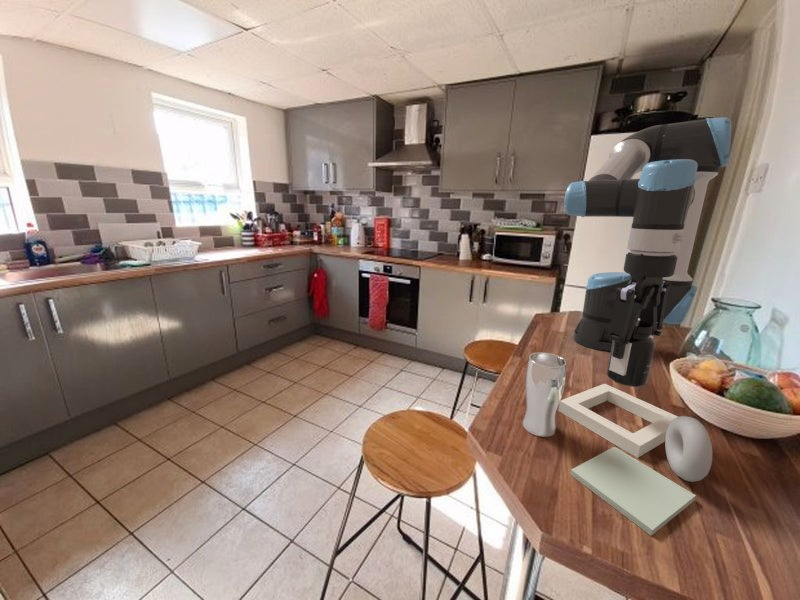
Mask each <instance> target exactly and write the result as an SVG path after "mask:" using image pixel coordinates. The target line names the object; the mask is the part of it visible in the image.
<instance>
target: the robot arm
mask: <svg viewBox="0 0 800 600" xmlns="http://www.w3.org/2000/svg"><path fill="white" fill-rule="evenodd" d="M731 138H732V121H731V119H730V118H729V117H726V116H725V117H712V118H710V117H705V118H702V119H701V118H700V119H693V120H687V121H681V122H674V123H665V124H658V125H653V126H652V125H651V126H650V127H649V126H648V127H646V128H644V129H641V130H639V131H636V132H634V133H633V134H630V135H629V136H627V137H625V138H623V139H622V140H621V141H620V142H618V143H617V144H616V145H615V146H614V147H613V149H612V150H610V153H609V156H608V159H607V160H606V161H605V162H604V164H602V166H601V167H600V168H599V169H598V170H597V171H596V172H595V173H594V174H593V175H592V177H590V179H588V180H580V181H573V182H571V183H570V184H569V185H568V186H567V188H566V191H565V193H564V201H563V202H564V206H563V207H564V212H565V213H566V215H568V216H573V217H581V218H585V217H587V218H588V217H594V218H595V217H597V218H599V217H603V218H604V217H605V218H606V217H607V218H609V217H611V218H612V217H614V218H615V217H617V218H618V217H620V218H632V223H631V226H630V231H629V237H628V243H627V248H626V249H627V250H629V251H628V252H627V253H626V254H625V259H624V265H623V271H624V272H617V271H616V272H612V271H611V272H601V273H600V272H599V273H593V274H592V275H590V276H589V278H587V282H586V283H587V284H586V287H585V295H584V302H583V308H582V315H581V318H580V320H579V322H578V323H577V326H576V327H575V329H574V331H573V334H572V339H573V340H574V341H575V342H576V343H578V344H579V345H581V346H584V347H587V348H590V349H594V350H599V351H607V352H611V347H612V342H613V340H614V346H613V352H612V357H611V362H610V368H609V370H611V371H613V372H616V373H618V374H620V375H623V376H624V375H626V371H627V366H628V361H629V356H630V351H631V346H632V343H629V341H630V339H631V336H632V333H633V331H634V328H635V326H636V323H637V321H643V322H646V323H649V324H651V325H652V326H653V327H652V334H651V336H649V337H650V338H651V339H652V340H653V341H654V339H655V338H654V336H656V337H660V336H661V334H662V331H661V330H662V329H663V325H664V324H669V325H670V324H671V325H680V324H682V323H683V322H684V321H685V319H686V316H687V315H688V313H689V310H690V308H691V306H692V304H693V301H694V298H695V296H696V293H697V291H698V286H696V285H694V284H693V281H694V280H693V278H692V277H691V275H690V274H689V273H688V270H689V265H690V262H691V258H692V253H693V249H694V244H695V239H696V236H697V231H698V227H699V222H700V219H701V215H702V210H703V206H704V201H705V199H706V194H707V190H708V184H709V183H710V181H711V180H713V179H714V178H715V177H716V176H718V175H719V172H720V168H724V167H727V166H728V165H729V160H730V151H731V140H732V139H731ZM640 172H641V174H640V178H633V177H634V176H635V175H637V174H638V173H640Z"/></svg>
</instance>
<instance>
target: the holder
mask: <svg viewBox="0 0 800 600" xmlns="http://www.w3.org/2000/svg"><path fill="white" fill-rule="evenodd" d="M605 402H609V403H611V404H613V405H615V406H617V407H619V408H621V409H623V410H625V411H627V412H629V413H631V414H633V415H635V416H637V417H639V418H642V420H645V421H648V422H650V424H648V425H646V426H644V427H642V428H641V429H638V430H636V431H635V432H631V431H629V430H628V429H625V428H624V427H622V426H620V425H619V424H617V423H614V422H613V421H611V420H610V419H607V418H605V417H604V416H601V415H599V414H598V413H597V412H594V411H592V410H591V408H593V407H595V406H598V405H601V404H602V403H605ZM557 411H558V412H559V413H561V414H563V415H564V416H566V417H568V418H569V419H571V420H573V421H575V422H576V423H578V424H580V425H581V426H583V427H585V428H586V429H588V430H589V431H591V432H593V433H595V434H597V435H598V436H600V437H602V438H603V439H604V440H607V442H610V443H611V444H613V445H615V447H616V446H617V448H620V450H622V451H623V450H624V451H625V453H628V454H630V455H632V457H634V458H637V459H639V458H641V456H643V455H645V454H647V453H649V452H650V451H651V450H653V449H655V448H657V447H658V446H661V444H663V443H665V437H666V432H667V429H668V426H669V424H670V423H671V422H672V420H673V419H675V418H677V417H679V416H677V415H675V414H673V413H671V412H668V411H666V410H664V409H662V408H659V407H657V406H655V405H653V404H651V403H649V402H647V401H644V400H642V399H640V398H638V397H635V396H633V395H631V394H629V393H628V392H624V391H622V390H619V389H618V388H616V387H613V386H611V385H609V384H606V383H602V384H599V385H597V386H595V387H592V388H589V389H587V390H584V391H582V392H579V393H577V394H574V395H571V396H568V397H566V398H563V399H561V400H560V402H559V405H558V409H557Z"/></svg>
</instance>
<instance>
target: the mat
mask: <svg viewBox="0 0 800 600" xmlns="http://www.w3.org/2000/svg"><path fill="white" fill-rule="evenodd" d="M570 475H571V477H573V478H574V479H576V480H577V481H578V482H580V484H582V485H584V486H585V488H587V489H589V490H590V491H591V492H593V493H594V494H595V495H597V497H599V498H600V499H602V501H604V502H606V503H607V504H608V505H610V506H611V507H612V508H614V509H615V510H616V511H617V512H619V513H620V514H621V515H623V516H624V517H626V519H628V520H629V521H631V522H632V523H633V524H635V525H636V526H637V527H638V528H640V529H641V530H643V531H644V532H645V533H647V534H648V535H649V536H651V537H652V536H654V534H655V533H656V532H658V531H659V530H660V529H662V527H664V526H665V525H666V524H668V523H669V522H670V521H671V520H673V519H674V518H675V517H677V515H679V514H680V513H682V511H684V510H685V509H686V508H687V507H688V506H690V505H691V504H692V503H694V502H695V499H696V496H697V495H696V494H695V493H693V492H691V491H689V490H688V489H686V488H684V487H683V486H682V485H679V484H677V482H674V481H673V480H671V479H669V478H668V477H665V476H664V475H663V474H661V473H659V472H658V471H656V470H654V469H653V468H651V467H650V466H648V465H646V464H645V463H643V462H641V461H640V460H638V459H635V457H634V456H631V455H629V453H628V454H627V452H624V451H623V450H622V449H619V447H616V446H613V447H611V448H609V449H607V450H605V451H604V452H602V453H598V455H596V456H594V457H592V458H590V459H588V460H587V461H585V462H583V463H581V464H579V465H577V466H576V467H574V468H572V469H571V470H570Z"/></svg>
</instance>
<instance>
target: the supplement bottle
mask: <svg viewBox="0 0 800 600" xmlns="http://www.w3.org/2000/svg"><path fill="white" fill-rule="evenodd" d="M652 327H653V326H652V325H651V324H649V323H646V322H643V321H640V320H638V321H637V323H636V326H635V328H634V331H633V333H632V336H631V339H630V341H629V343H632V346H631V351H630V356H629V361H628V366H627V371H626V375H624V376H623V375H620V374H618V373H616V372H613V371H611V370H609V368H610V362H611V357H612V352H613V346H614V340H613V342H612V347H611V351H610V354H609V359H608V364H607V370H606V375H607V377H608V378H609V379H610V380H611V381H613V382H615V383H617V384H619V385H622V386H626V387H630V388H631V387H632V388H641V387H644V386H646V385H647V383H648V380H649V377H650V372H651V369H652V368H651V367H652V362H653V359H654V353H655V348H656V342H655V341H654V339H653V340H652V339H651V338H650V337H649V336H651V334H652Z"/></svg>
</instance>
